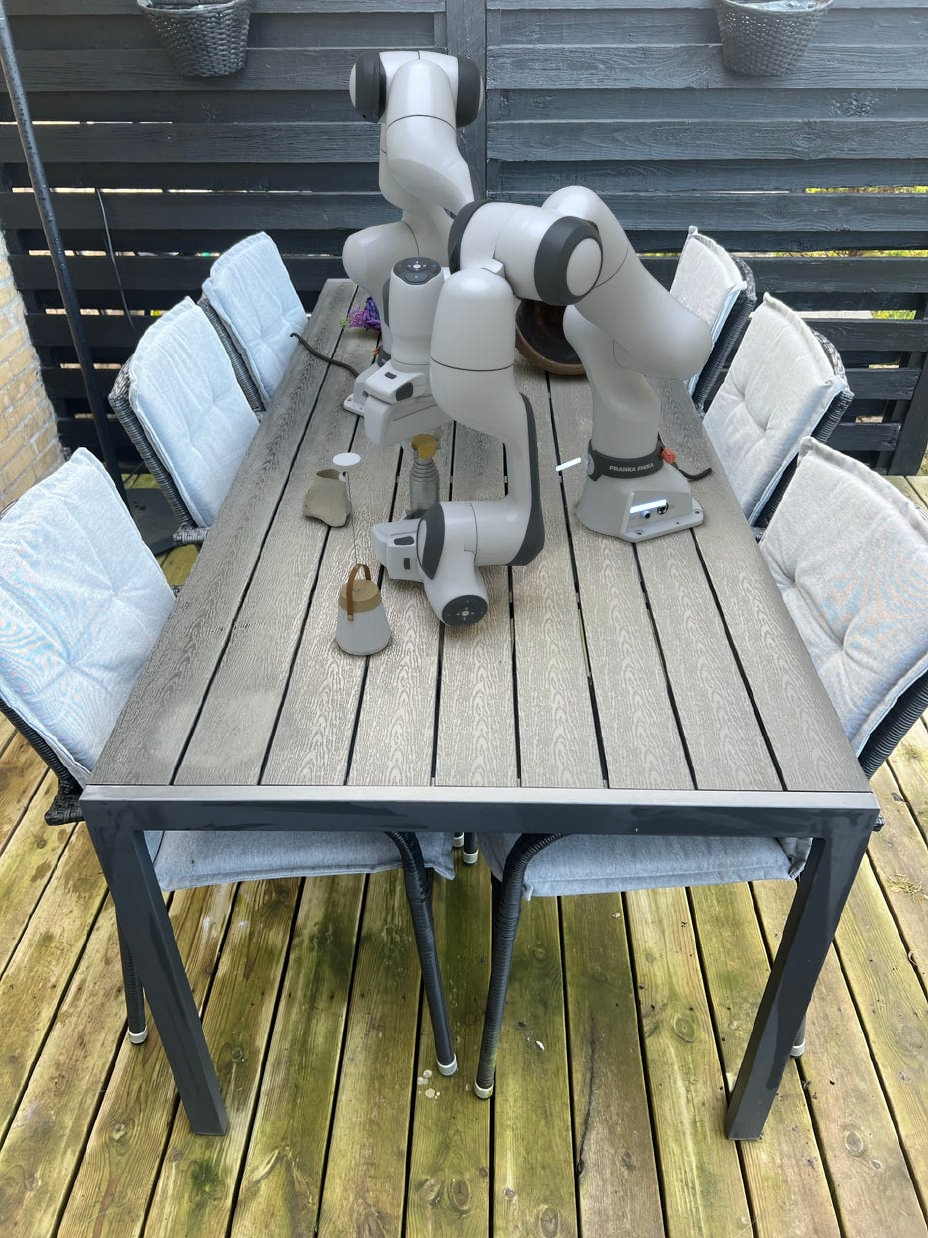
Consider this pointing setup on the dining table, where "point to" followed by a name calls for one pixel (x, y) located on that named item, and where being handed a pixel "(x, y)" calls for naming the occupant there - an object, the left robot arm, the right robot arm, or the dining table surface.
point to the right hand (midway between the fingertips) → (424, 511)
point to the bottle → (423, 486)
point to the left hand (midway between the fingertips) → (423, 453)
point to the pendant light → (359, 596)
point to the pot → (545, 337)
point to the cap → (424, 445)
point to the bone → (327, 498)
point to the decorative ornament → (365, 317)
